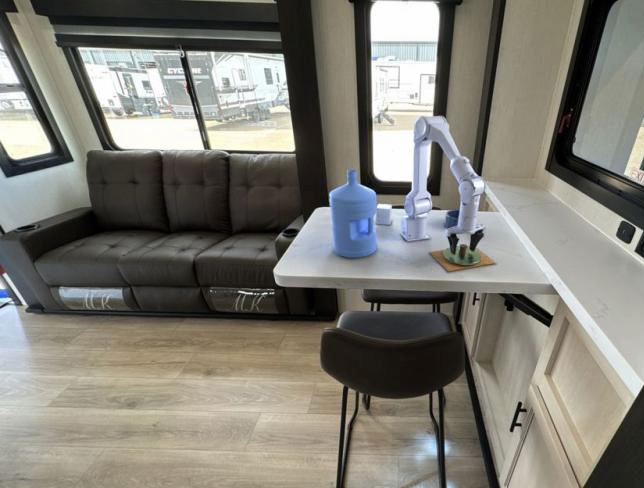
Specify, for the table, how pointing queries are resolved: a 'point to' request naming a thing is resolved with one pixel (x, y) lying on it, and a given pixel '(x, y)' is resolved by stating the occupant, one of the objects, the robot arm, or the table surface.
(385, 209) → the product box
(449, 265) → the mat
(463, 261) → the lid
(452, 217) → the tin
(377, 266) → the table surface
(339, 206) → the water jug
